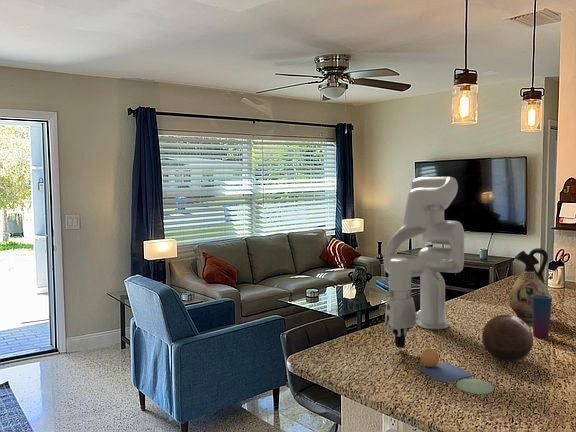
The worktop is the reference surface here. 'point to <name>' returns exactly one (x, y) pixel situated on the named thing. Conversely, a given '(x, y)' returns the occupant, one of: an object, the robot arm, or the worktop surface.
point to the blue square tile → (445, 372)
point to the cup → (541, 315)
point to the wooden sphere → (507, 338)
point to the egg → (430, 358)
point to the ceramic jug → (528, 284)
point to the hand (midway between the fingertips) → (400, 346)
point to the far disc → (475, 386)
